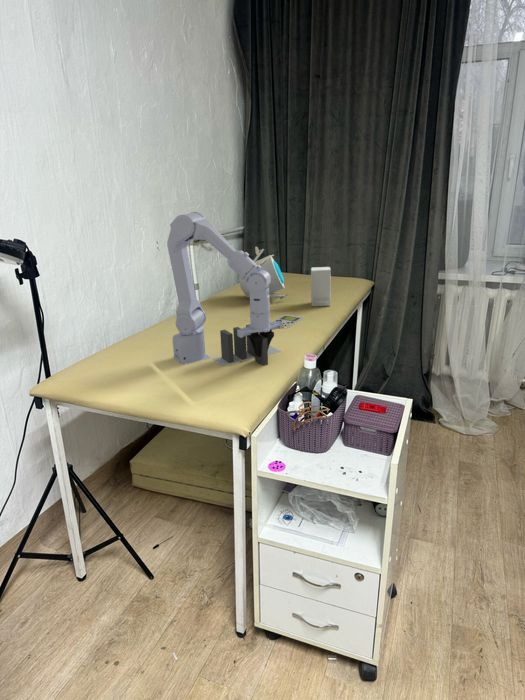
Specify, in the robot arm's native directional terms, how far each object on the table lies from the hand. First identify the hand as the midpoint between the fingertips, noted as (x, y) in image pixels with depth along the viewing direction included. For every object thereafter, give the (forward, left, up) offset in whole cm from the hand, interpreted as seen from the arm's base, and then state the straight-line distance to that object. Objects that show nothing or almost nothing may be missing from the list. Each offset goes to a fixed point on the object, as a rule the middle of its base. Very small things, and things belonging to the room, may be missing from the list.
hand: (261, 355), depth 144 cm
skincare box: (+55, +42, -3) cm, 69 cm away
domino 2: (-3, +8, -2) cm, 8 cm away
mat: (-1, +8, -3) cm, 8 cm away
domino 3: (+1, +8, -2) cm, 8 cm away
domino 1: (-8, +8, -2) cm, 11 cm away
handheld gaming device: (+30, +31, -3) cm, 43 cm away
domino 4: (0, 0, -3) cm, 3 cm away
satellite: (+40, +64, -3) cm, 76 cm away
